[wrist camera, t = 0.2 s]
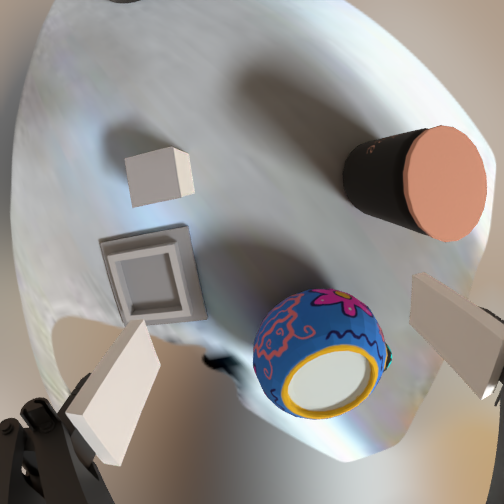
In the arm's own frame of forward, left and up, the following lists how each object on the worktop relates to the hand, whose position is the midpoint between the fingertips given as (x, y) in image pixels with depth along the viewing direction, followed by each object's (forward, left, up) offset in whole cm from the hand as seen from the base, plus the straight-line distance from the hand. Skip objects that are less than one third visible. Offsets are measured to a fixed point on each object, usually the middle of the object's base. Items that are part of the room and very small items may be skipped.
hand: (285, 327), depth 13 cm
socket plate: (+5, -17, -27) cm, 32 cm away
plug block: (-9, -11, -27) cm, 31 cm away
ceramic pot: (+16, +5, -27) cm, 32 cm away
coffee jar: (-5, +17, -27) cm, 33 cm away
